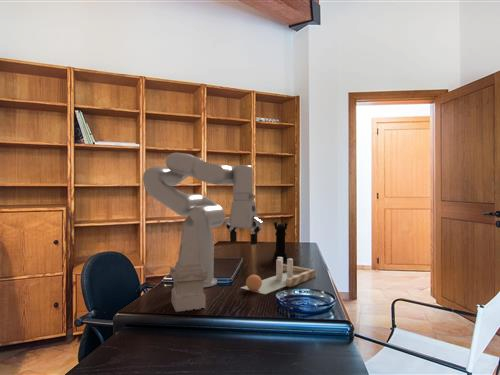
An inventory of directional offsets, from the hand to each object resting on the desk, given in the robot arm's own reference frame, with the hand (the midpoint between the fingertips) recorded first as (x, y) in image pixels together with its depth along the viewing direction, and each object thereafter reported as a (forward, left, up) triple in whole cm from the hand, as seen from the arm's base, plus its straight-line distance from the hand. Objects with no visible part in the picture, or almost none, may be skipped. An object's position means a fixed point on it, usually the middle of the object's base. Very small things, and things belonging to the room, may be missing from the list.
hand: (243, 243), depth 133 cm
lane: (+17, +9, -18) cm, 27 cm away
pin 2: (+23, +10, -18) cm, 31 cm away
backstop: (+23, +14, -18) cm, 33 cm away
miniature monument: (-22, -10, -19) cm, 30 cm away
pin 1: (+20, +14, -18) cm, 31 cm away
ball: (+4, 0, -15) cm, 16 cm away
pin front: (+18, +10, -18) cm, 28 cm away
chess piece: (+34, +50, -19) cm, 63 cm away
